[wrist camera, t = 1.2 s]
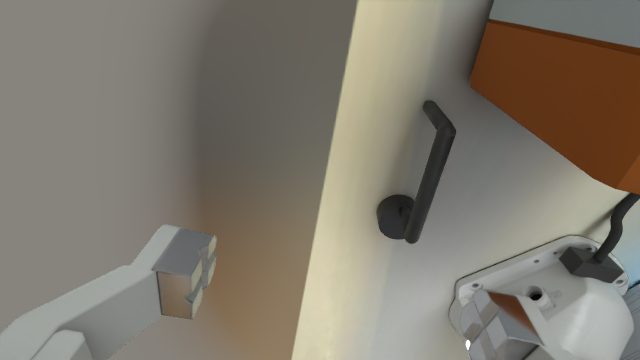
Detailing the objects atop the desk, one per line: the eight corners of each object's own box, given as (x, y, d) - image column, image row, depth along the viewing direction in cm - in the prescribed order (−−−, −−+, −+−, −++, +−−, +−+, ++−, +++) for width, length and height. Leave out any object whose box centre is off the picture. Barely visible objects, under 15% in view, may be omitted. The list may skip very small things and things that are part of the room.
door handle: (412, 229, 38) (425, 273, 32) (373, 224, 38) (379, 268, 32) (454, 101, 29) (483, 130, 23) (404, 96, 29) (420, 123, 23)
